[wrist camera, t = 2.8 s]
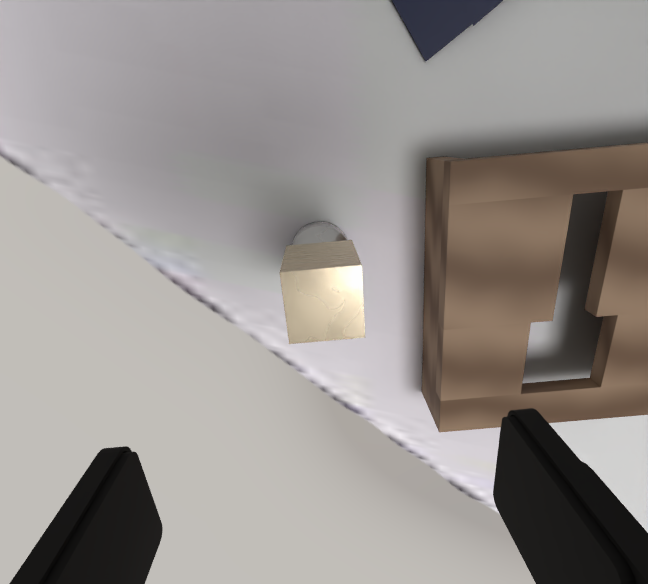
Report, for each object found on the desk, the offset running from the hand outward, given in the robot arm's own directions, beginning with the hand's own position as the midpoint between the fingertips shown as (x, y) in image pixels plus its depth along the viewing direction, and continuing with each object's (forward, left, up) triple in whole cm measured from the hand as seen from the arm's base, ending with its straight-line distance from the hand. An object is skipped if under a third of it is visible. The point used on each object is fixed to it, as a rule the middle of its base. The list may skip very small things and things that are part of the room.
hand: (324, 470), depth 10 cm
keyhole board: (+4, +17, -20) cm, 27 cm away
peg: (0, 0, -20) cm, 20 cm away
